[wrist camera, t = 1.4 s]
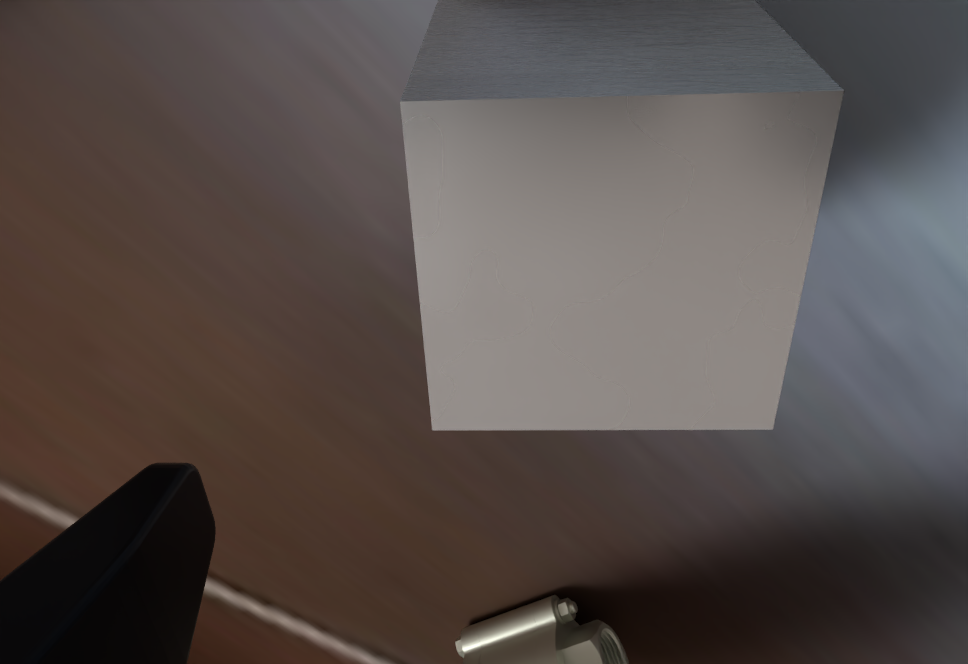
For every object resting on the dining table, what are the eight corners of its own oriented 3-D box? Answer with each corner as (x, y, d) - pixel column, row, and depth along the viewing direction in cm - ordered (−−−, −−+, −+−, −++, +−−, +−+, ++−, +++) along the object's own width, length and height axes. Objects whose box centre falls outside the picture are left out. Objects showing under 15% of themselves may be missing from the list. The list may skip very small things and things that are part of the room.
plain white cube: (734, -19, 14) (844, 91, 10) (702, 241, 17) (772, 430, 12) (441, -10, 15) (399, 100, 10) (458, 245, 18) (432, 430, 13)
